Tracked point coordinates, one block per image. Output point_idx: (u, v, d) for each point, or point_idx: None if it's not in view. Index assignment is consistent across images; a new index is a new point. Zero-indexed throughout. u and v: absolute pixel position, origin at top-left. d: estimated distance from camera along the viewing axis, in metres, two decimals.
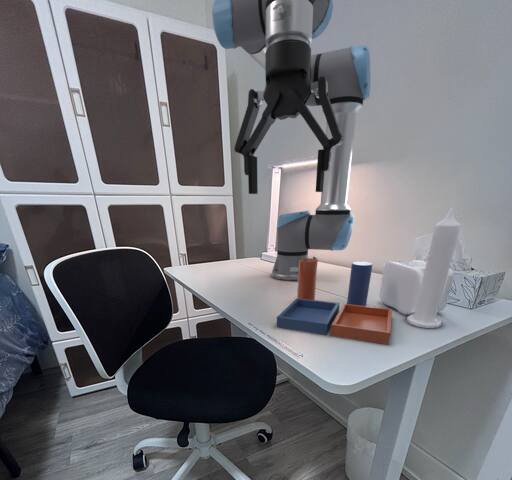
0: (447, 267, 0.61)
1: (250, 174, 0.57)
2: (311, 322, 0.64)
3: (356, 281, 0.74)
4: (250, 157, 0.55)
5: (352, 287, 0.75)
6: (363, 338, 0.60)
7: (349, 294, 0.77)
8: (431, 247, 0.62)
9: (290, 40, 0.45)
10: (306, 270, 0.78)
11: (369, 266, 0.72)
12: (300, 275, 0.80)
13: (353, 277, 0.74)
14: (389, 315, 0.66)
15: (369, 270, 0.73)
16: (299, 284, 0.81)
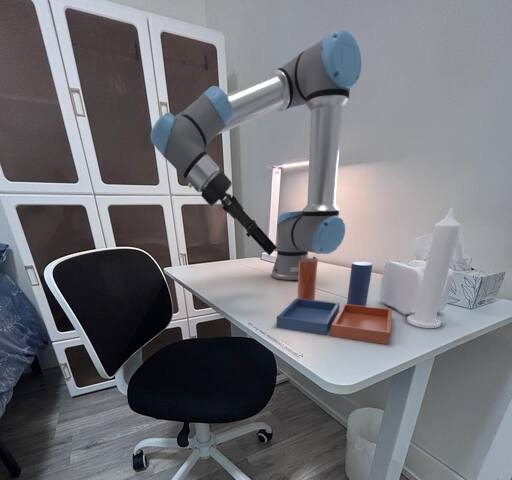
0: (447, 267, 0.61)
1: None
2: (311, 322, 0.64)
3: (356, 281, 0.74)
4: None
5: (352, 287, 0.75)
6: (363, 338, 0.60)
7: (349, 294, 0.77)
8: (431, 247, 0.62)
9: None
10: (306, 270, 0.78)
11: (369, 266, 0.72)
12: (300, 275, 0.80)
13: (353, 277, 0.74)
14: (389, 315, 0.66)
15: (369, 270, 0.73)
16: (299, 284, 0.81)
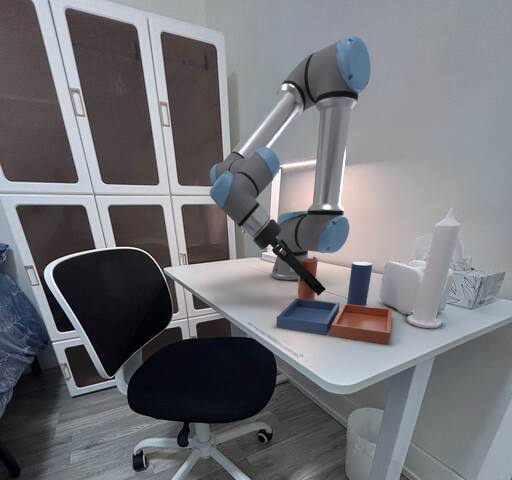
0: (447, 267, 0.61)
1: None
2: (311, 322, 0.64)
3: (356, 281, 0.74)
4: None
5: (352, 287, 0.75)
6: (363, 338, 0.60)
7: (349, 294, 0.77)
8: (431, 247, 0.62)
9: (254, 239, 0.75)
10: None
11: (369, 266, 0.72)
12: None
13: (353, 277, 0.74)
14: (389, 315, 0.66)
15: (369, 270, 0.73)
16: (299, 284, 0.81)
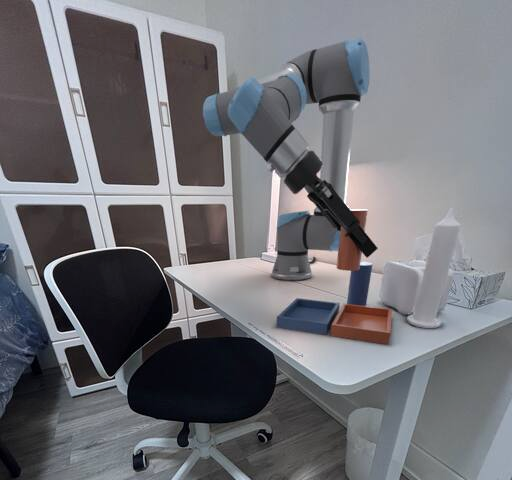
0: (447, 267, 0.61)
1: None
2: (311, 322, 0.64)
3: (356, 281, 0.74)
4: None
5: (352, 287, 0.75)
6: (363, 338, 0.60)
7: (349, 294, 0.77)
8: (431, 247, 0.62)
9: (285, 179, 0.56)
10: None
11: (369, 266, 0.72)
12: (344, 230, 0.61)
13: (353, 277, 0.74)
14: (389, 315, 0.66)
15: (369, 270, 0.73)
16: (341, 243, 0.62)
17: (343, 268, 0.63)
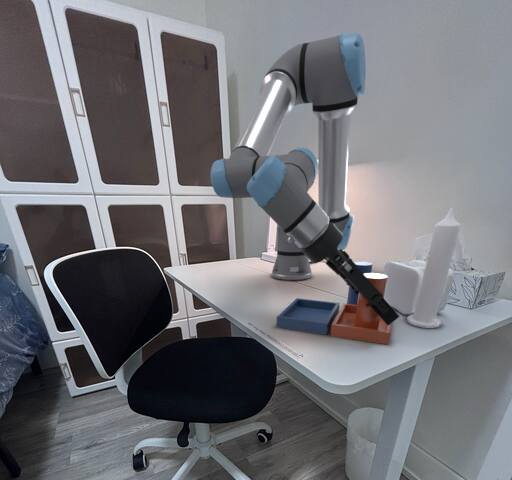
0: (447, 267, 0.61)
1: None
2: (311, 322, 0.64)
3: None
4: (355, 292, 0.65)
5: None
6: (363, 338, 0.60)
7: (349, 294, 0.77)
8: (431, 247, 0.62)
9: (305, 250, 0.55)
10: None
11: (369, 266, 0.72)
12: None
13: None
14: None
15: (369, 270, 0.73)
16: (360, 307, 0.61)
17: None
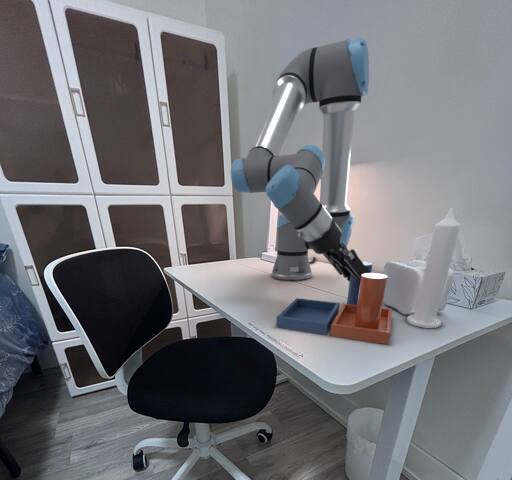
0: (447, 267, 0.61)
1: None
2: (311, 322, 0.64)
3: (356, 281, 0.74)
4: (348, 280, 0.78)
5: (352, 287, 0.75)
6: (363, 338, 0.60)
7: (349, 294, 0.77)
8: (431, 247, 0.62)
9: (313, 243, 0.67)
10: (373, 290, 0.58)
11: (369, 266, 0.72)
12: (363, 296, 0.60)
13: (353, 277, 0.74)
14: (389, 315, 0.66)
15: (369, 270, 0.73)
16: (360, 307, 0.61)
17: None
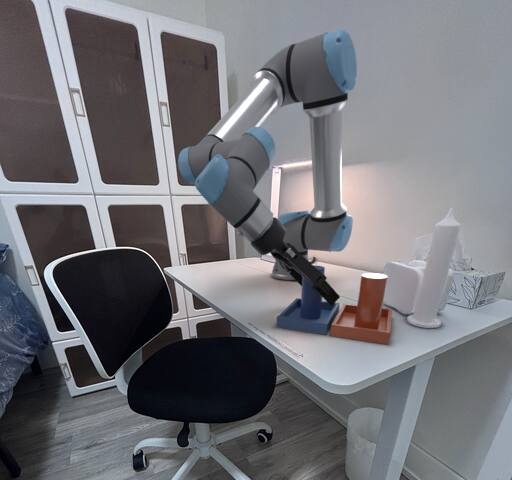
0: (447, 267, 0.61)
1: (297, 281, 0.75)
2: (311, 322, 0.64)
3: (307, 287, 0.67)
4: (290, 274, 0.74)
5: (304, 293, 0.69)
6: (363, 338, 0.60)
7: (302, 301, 0.70)
8: (431, 247, 0.62)
9: (254, 243, 0.60)
10: (373, 290, 0.58)
11: (320, 270, 0.65)
12: (363, 296, 0.60)
13: (304, 282, 0.67)
14: (389, 315, 0.66)
15: None
16: (360, 307, 0.61)
17: None
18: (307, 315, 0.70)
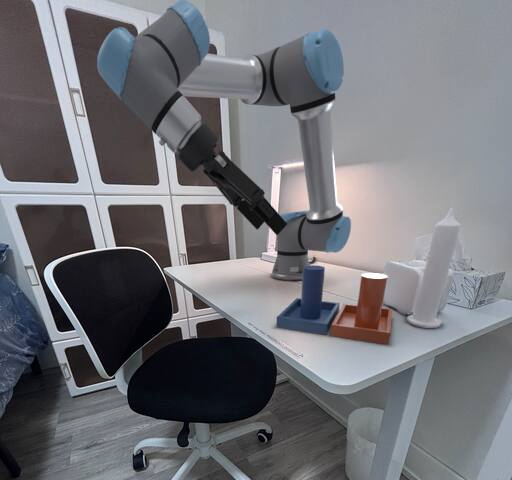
0: (447, 267, 0.61)
1: (247, 218, 0.65)
2: (311, 322, 0.64)
3: (307, 287, 0.67)
4: (238, 209, 0.64)
5: (304, 293, 0.69)
6: (363, 338, 0.60)
7: (302, 301, 0.70)
8: (431, 247, 0.62)
9: (180, 154, 0.50)
10: (373, 290, 0.58)
11: (320, 270, 0.65)
12: (363, 296, 0.60)
13: (304, 282, 0.67)
14: (389, 315, 0.66)
15: (320, 275, 0.66)
16: (360, 307, 0.61)
17: None
18: (307, 315, 0.70)
